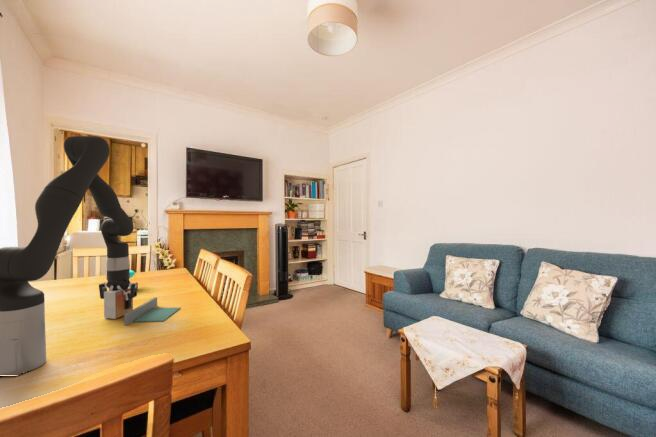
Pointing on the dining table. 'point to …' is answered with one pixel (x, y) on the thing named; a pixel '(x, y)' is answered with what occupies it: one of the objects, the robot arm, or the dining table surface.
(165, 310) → the mat
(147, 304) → the divider wall
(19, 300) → the robot arm
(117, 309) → the small box
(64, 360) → the dining table surface
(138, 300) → the dining table surface
